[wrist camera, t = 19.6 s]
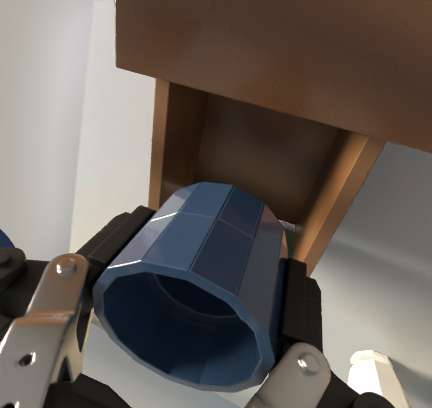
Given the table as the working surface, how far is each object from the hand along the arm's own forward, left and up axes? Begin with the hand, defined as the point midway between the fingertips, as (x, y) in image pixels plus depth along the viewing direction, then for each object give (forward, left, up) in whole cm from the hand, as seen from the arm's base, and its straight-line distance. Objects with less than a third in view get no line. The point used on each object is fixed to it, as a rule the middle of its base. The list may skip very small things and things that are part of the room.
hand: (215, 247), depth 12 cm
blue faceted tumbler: (0, 0, -1) cm, 1 cm away
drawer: (0, -3, -12) cm, 13 cm away
